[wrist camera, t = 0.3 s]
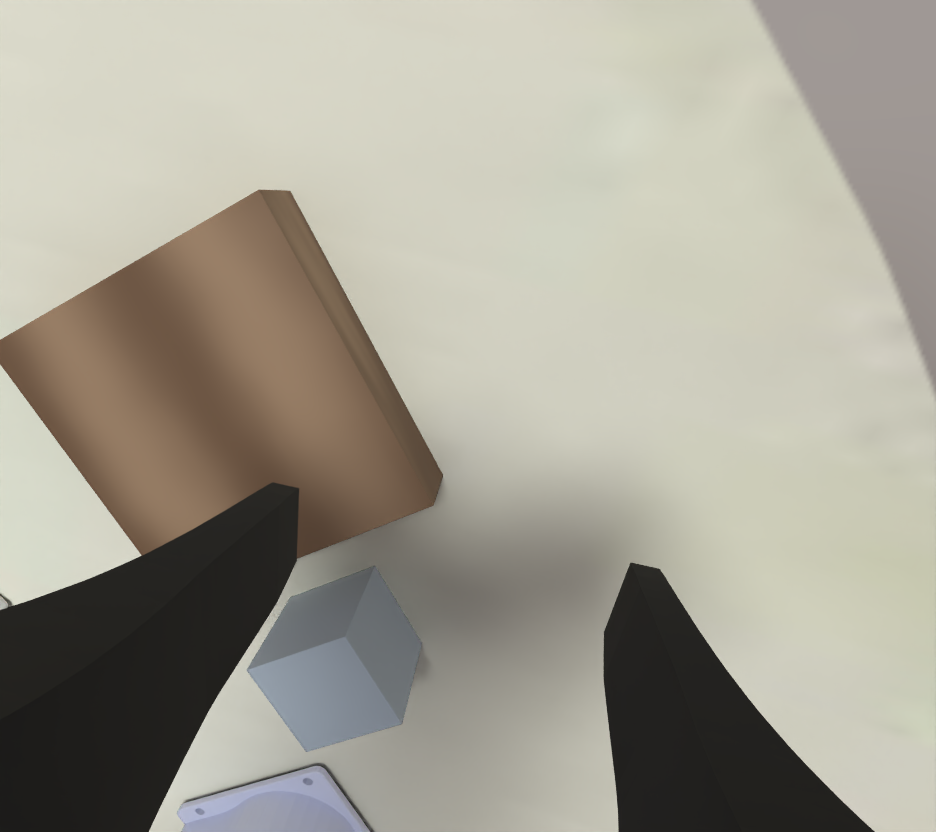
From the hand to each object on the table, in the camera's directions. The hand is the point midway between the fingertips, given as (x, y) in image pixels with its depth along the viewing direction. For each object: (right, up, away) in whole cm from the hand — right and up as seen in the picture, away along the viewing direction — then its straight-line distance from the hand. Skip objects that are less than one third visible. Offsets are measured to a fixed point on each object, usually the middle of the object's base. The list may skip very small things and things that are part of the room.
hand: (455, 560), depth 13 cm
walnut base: (-9, +4, +11) cm, 15 cm away
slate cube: (-5, -6, +14) cm, 16 cm away
